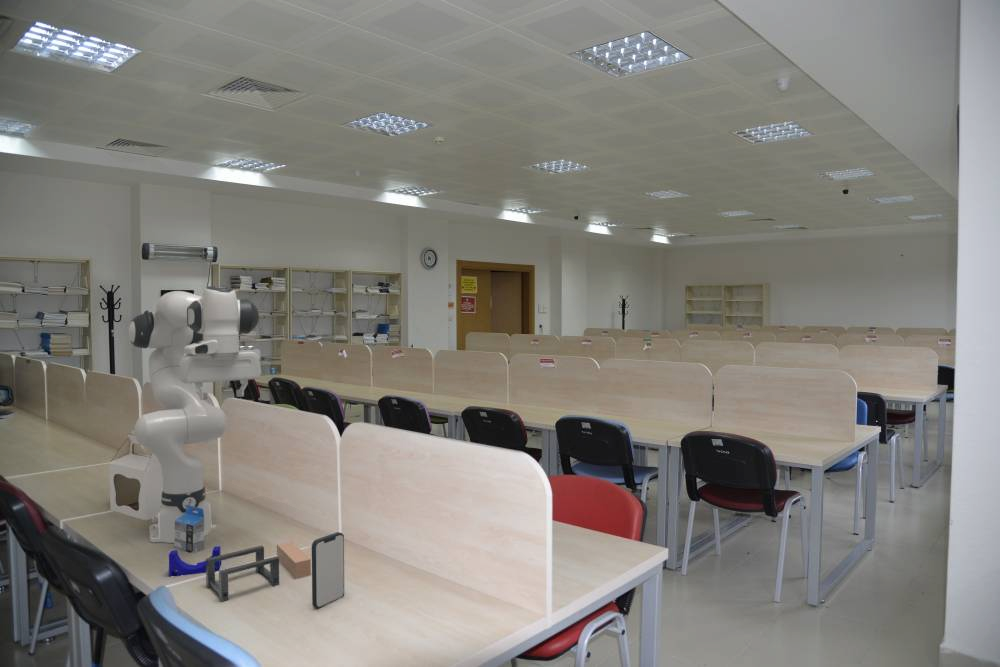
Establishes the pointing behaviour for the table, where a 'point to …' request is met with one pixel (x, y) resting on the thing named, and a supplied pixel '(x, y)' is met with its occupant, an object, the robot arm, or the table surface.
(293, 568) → the salmon orange rectangular block
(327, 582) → the black smartphone
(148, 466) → the gable box
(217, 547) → the blue curved cradle stand
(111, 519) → the table surface
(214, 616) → the table surface
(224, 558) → the grey metal frame stand
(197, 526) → the label tape box
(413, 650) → the table surface
